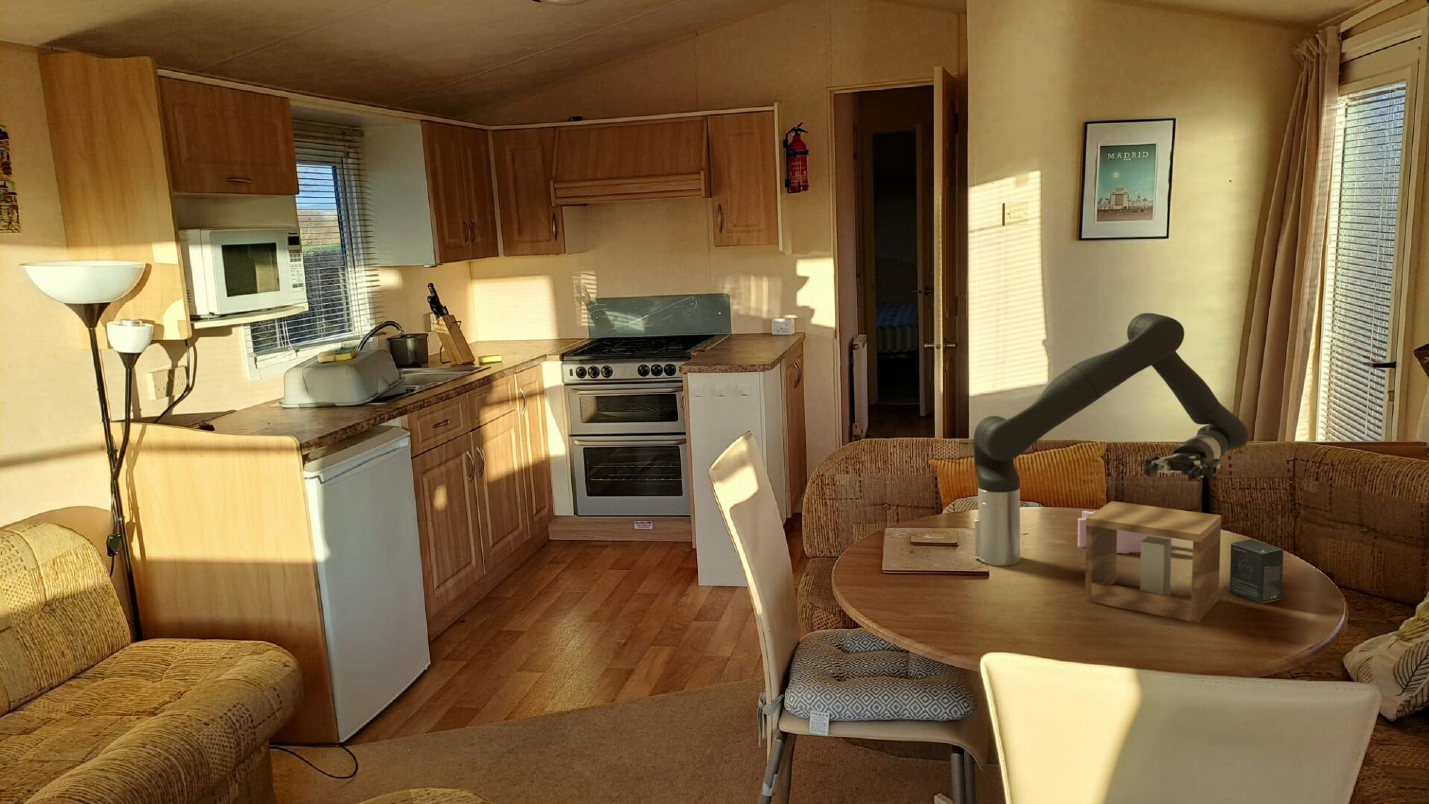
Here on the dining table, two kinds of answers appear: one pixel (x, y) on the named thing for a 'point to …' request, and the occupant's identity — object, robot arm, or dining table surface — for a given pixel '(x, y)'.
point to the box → (1256, 571)
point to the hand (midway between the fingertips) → (1169, 474)
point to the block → (1155, 565)
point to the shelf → (1157, 523)
